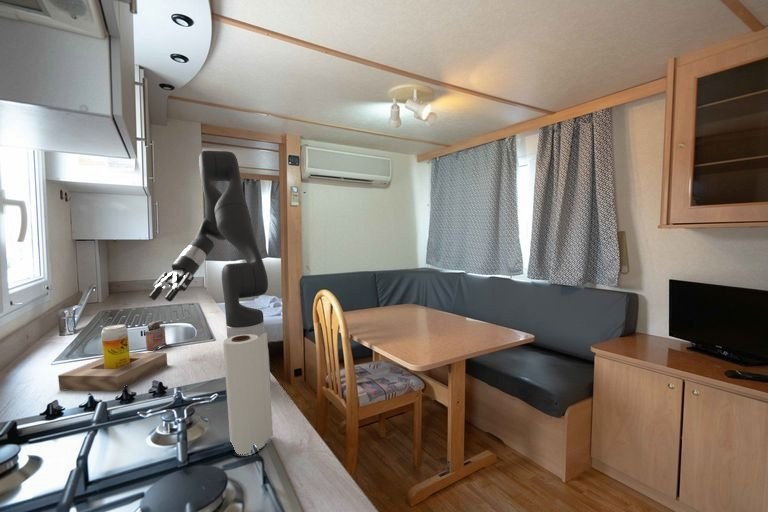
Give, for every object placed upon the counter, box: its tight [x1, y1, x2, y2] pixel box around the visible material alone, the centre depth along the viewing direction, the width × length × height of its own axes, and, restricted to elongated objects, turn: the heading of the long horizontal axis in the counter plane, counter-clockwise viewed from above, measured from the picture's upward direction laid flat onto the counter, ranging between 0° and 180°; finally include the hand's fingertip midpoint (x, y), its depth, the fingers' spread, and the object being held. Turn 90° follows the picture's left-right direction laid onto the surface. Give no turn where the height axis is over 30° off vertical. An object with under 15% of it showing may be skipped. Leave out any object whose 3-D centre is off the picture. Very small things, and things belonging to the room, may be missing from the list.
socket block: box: [57, 352, 168, 392], centre depth 104 cm, size 18×18×4 cm
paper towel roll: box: [222, 332, 274, 455], centre depth 66 cm, size 7×6×21 cm
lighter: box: [144, 319, 167, 352], centre depth 129 cm, size 8×3×10 cm, turn 171°
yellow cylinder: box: [100, 324, 130, 369], centre depth 103 cm, size 6×6×15 cm
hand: (159, 299), depth 114 cm, fingers open, 8 cm apart
